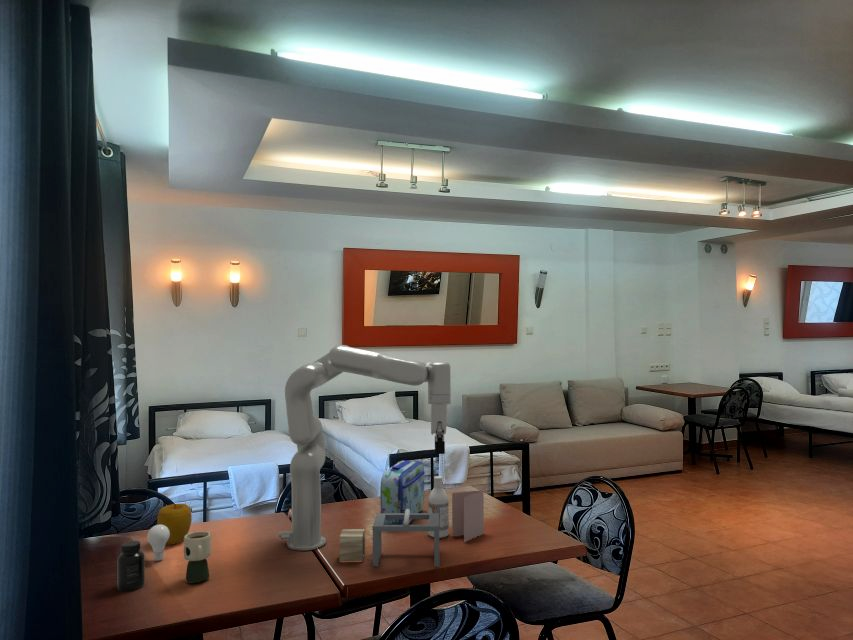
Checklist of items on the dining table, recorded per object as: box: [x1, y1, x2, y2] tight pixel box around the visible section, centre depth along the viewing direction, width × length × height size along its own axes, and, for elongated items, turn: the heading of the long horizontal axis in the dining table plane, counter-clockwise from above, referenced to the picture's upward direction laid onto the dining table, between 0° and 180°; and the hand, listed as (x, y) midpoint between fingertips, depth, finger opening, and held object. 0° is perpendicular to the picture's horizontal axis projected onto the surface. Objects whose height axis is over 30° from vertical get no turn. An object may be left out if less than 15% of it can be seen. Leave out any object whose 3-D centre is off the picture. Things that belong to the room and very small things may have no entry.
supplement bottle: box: [116, 540, 146, 592], centre depth 168 cm, size 7×7×12 cm
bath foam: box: [427, 475, 450, 539], centre depth 209 cm, size 7×7×20 cm
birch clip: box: [339, 528, 366, 562], centre depth 187 cm, size 7×7×8 cm
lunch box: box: [379, 460, 426, 525], centre depth 227 cm, size 26×11×21 cm, turn 162°
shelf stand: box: [372, 509, 440, 568], centre depth 187 cm, size 20×13×14 cm, turn 89°
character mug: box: [183, 530, 212, 584], centre depth 172 cm, size 11×7×13 cm, turn 28°
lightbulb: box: [146, 524, 170, 562], centre depth 187 cm, size 6×6×11 cm
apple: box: [156, 503, 193, 546], centre depth 203 cm, size 11×11×13 cm
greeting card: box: [451, 490, 485, 543], centre depth 206 cm, size 11×7×15 cm, turn 105°
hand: (439, 450), depth 200 cm, fingers open, 9 cm apart
